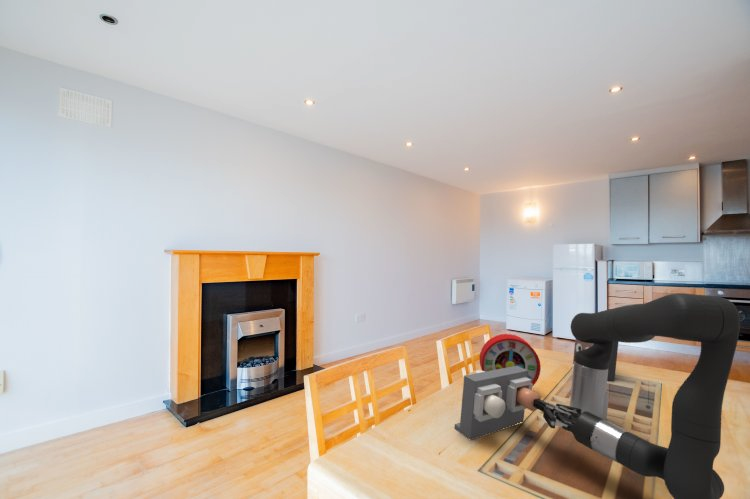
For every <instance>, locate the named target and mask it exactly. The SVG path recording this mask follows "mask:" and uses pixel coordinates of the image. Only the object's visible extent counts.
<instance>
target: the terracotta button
mask: <svg viewBox="0 0 750 499" xmlns="http://www.w3.org/2000/svg"><path fill="white" fill-rule="evenodd" d="M534 399H540V400H542V398H541V394H540V393H537V392H536V391H534V390H533V389H532V390H530V389H528V388H525V387H520V388H519V389H518V390H517V392H516V402H517V403H518V404H520V405H522V406H524V407H525V408H527V410H529V411H531V412H536V411H537V410H538V409H537V408H535V407H534V406H533V403H534Z"/></svg>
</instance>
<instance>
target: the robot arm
mask: <svg viewBox="0 0 750 499" xmlns="http://www.w3.org/2000/svg"><path fill="white" fill-rule="evenodd" d="M740 330H741V317H740V313H739V311H738V308H737V306H736V305H735V303H733V302H732V301H730V300H729V299H727V298H725V297H720V296H715V295H707V294H705V295H704V294H694V293H684V292H683V293H682V292H680V293H679V292H678V293H671V294H667V295H664V296H661V297H659V298H655V299H653V300H651V301H648V302H644V303H635V304H628V305H623V306H622V305H621V306H618V307H615V308H610V309H606V310H602V311H598V312H589V313H588V312H580V313H577V314H576V315H574V316H573V318H572V319H571V323H570V331H571V332H570V333H571V334H572V336H573V337H574V339H575V338H576V339H577V340H579V341H581V342H585V343H593V345H592V346H591V347H590V348H587V349H585V350H580V351H577V352H576V353H575V357H574V356H573V358H574V366H573V368H572V370H573V371H572V377H571V378H572V379H571V388H570V397H569V398H570V400H569V405H566V404H561V403H556V404H553V403H548V402H546V401H544V400H542V399H541V400H540V399H534V403H533V406H534V407H535V408H537V410H539V411H541V412H543V415H542V418H543V419H544V420H545V422H546V423H547V425H548V427H549V428H551V429H554V430H555V429H556V427H561V428H562V429H563V430H564V431H568V432H570V433H572V435H573V437H574V440H576V441H577V443H579V444H581V445H583V446H585V447H587V448H589V449H590V450H593V451H594V452H596V453H597V454H599V455H601V456H602V457H604V458H607V459H609V460H611V461H614V462H616V463H618V464H620V465H622V466H623V467H625V468H627V469H629V470H631V471H632V472H635V473H637V474H638V475H640V476H643V477H653V478H659V479H661V480H664V485H665V487H666V489H667V491H668V493H669V494H670V496H672V498H673V499H721V498H722V497H723V495H724V493H725V485H724V481H723V479H722V478H721V476H720V475H719V474H718V473H717V471H716V470H715V469H714V461H715V459H716V458H717V456H718V454H719V453H720V450H721V441H722V439H721V438H722V433H721V432H722V411H723V410H722V409H723V402H724V396H725V392H726V389H727V384H728V381H729V377H730V373H731V369H732V367H733V366H732V365H733V361H734V357H735V353H736V348H737V345H738V342H739V335H740ZM655 337H663V338H670V339H674V340H680V341H681V340H682V341H688V342H698V343H700V353H699V356H698V357H699V358H698V359H697V360H698V361H697V362H696V365H695V366H694V368H693V369H692V371H691V372H690V373H689V375H687V378H685V379H684V381H683V382H682V384H681V385H680V386H679V387H678V389H677V391H676V392H675V394H674V397H673V400H672V403H671V404H672V405H671V424H670V425H671V427H670V429H671V430H670V431H671V432H670V433H671V434H670V441H669V443H668V447H665V446H661V445H658V444H654V443H652V442H650V441H648V440H646V439H644V438H643V437H640V436H638V435H635V434H634V433H631V432H629V431H627V430H626V429H623V428H622V427H621V426H619V425H617V424H615V423H613V422H611V421H608V420H607V419H608V418H607V417H608V408H609V398H610V393H609V392H608V391H607V385H608V381H607V377H608V368H609V363H610V361H611V357H612V350H613V344H614V341H616V342H618V343H625V344H626V343H628V344H630V343H635V344H636V343H646V342H649V341H651V340H653V338H655Z"/></svg>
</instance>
